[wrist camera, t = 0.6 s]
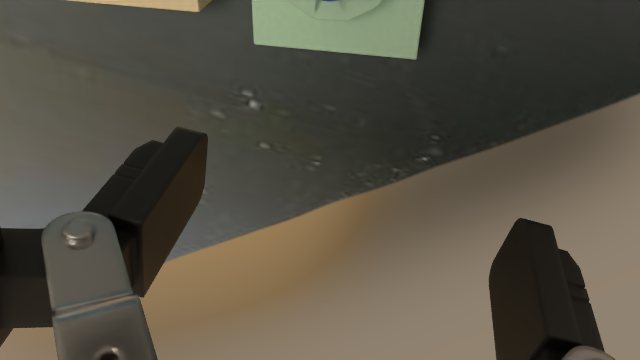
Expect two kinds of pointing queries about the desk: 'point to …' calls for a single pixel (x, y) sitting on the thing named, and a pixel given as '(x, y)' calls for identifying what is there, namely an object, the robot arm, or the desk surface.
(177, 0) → the panel
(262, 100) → the desk surface
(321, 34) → the green push-button base
